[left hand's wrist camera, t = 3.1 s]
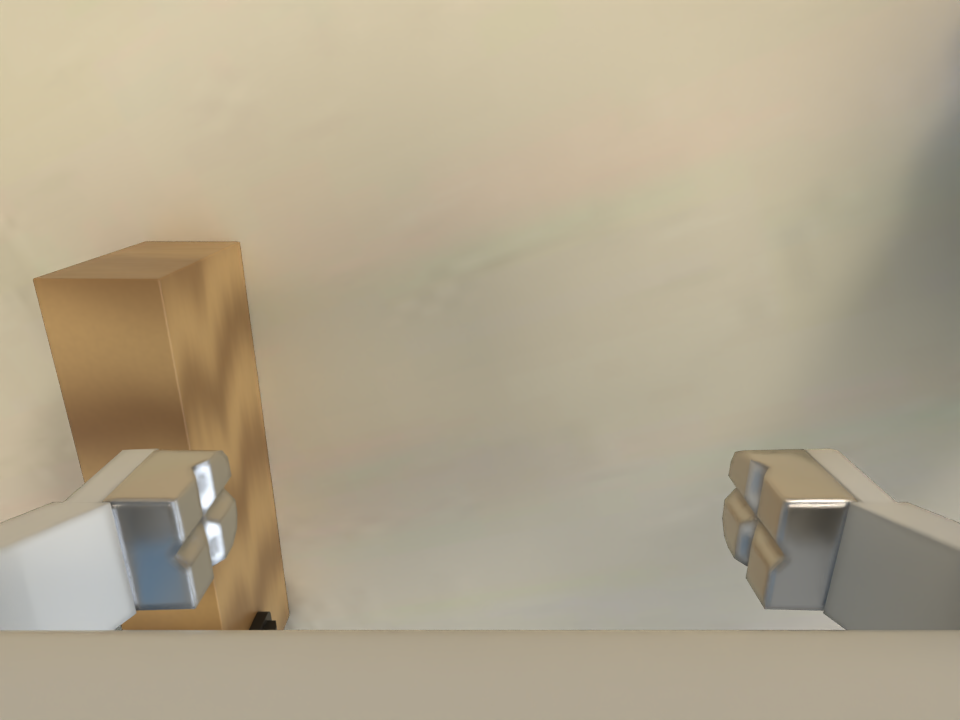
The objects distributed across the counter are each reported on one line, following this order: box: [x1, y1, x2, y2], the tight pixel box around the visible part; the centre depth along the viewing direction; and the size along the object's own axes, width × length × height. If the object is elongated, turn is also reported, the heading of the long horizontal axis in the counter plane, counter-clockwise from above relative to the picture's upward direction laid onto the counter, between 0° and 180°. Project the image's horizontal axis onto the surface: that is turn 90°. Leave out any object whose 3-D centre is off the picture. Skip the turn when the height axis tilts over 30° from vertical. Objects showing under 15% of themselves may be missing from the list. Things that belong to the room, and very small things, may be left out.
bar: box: [33, 242, 289, 630], centre depth 35 cm, size 26×5×9 cm, turn 0°
